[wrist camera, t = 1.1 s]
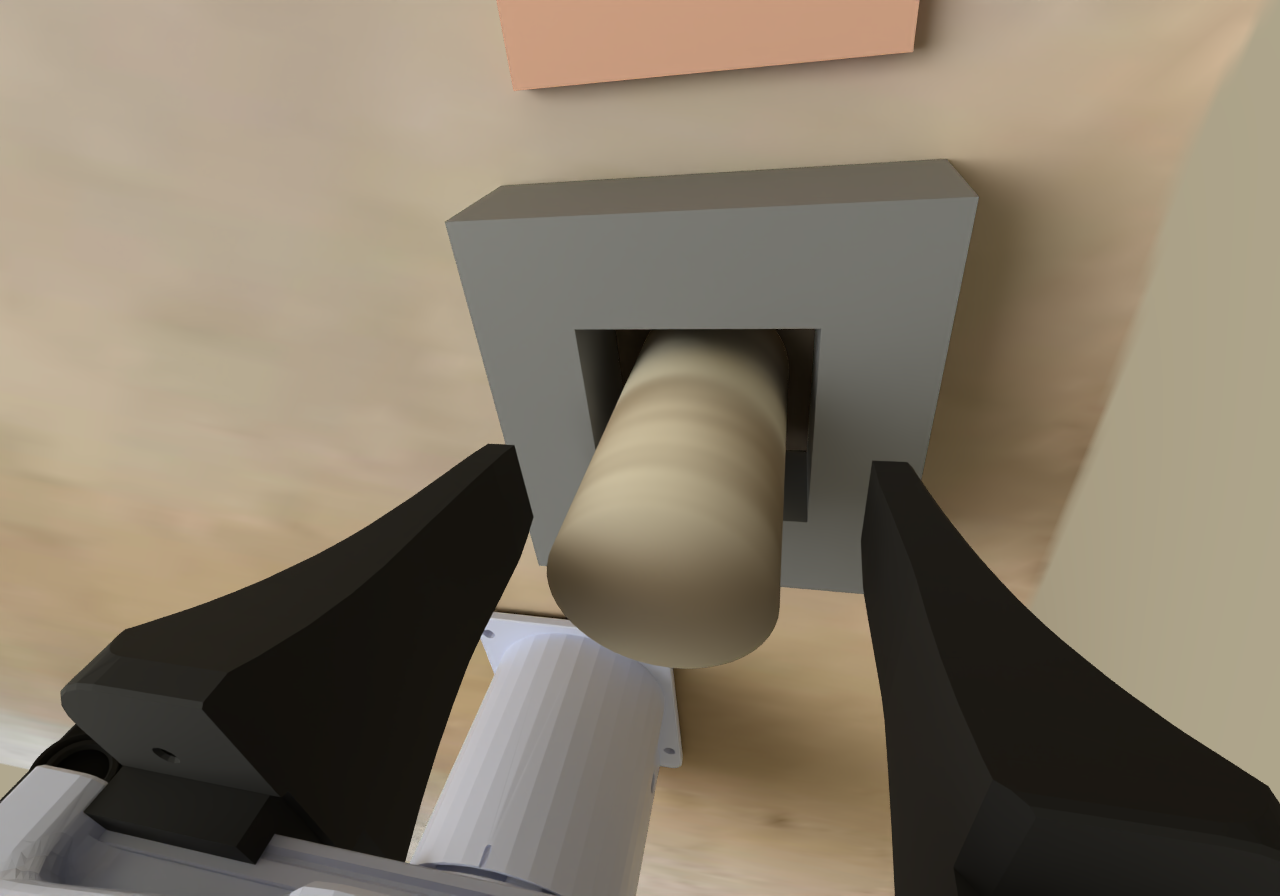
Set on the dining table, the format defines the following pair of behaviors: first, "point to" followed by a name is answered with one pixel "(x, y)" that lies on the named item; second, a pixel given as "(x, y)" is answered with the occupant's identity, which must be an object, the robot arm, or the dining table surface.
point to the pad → (691, 36)
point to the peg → (683, 504)
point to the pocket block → (724, 318)
